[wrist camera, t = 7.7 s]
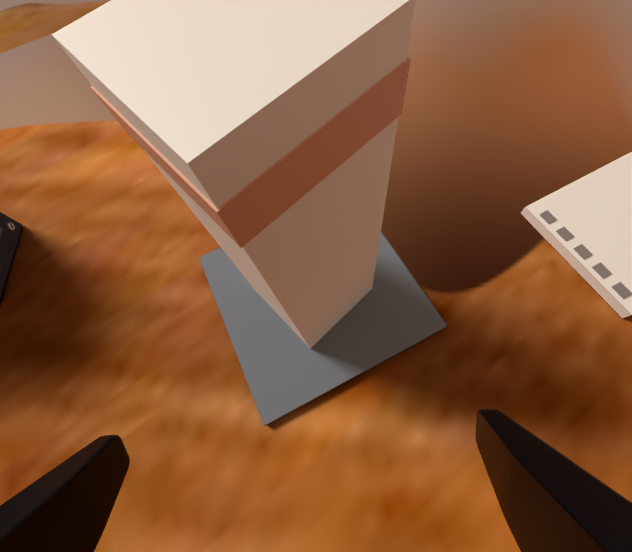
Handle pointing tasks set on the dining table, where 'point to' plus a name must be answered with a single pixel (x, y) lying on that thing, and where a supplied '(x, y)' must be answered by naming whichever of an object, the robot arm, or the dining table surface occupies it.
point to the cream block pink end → (593, 229)
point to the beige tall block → (264, 129)
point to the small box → (7, 245)
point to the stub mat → (333, 348)
